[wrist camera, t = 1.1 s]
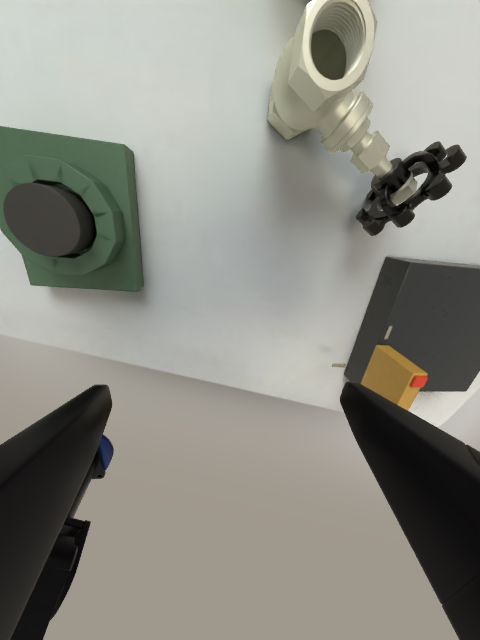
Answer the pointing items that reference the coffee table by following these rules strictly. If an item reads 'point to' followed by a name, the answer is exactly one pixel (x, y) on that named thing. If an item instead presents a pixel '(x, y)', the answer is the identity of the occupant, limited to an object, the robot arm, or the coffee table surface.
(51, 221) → the button
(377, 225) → the valve
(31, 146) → the button box
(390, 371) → the tap handle
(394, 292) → the panel
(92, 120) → the coffee table surface
